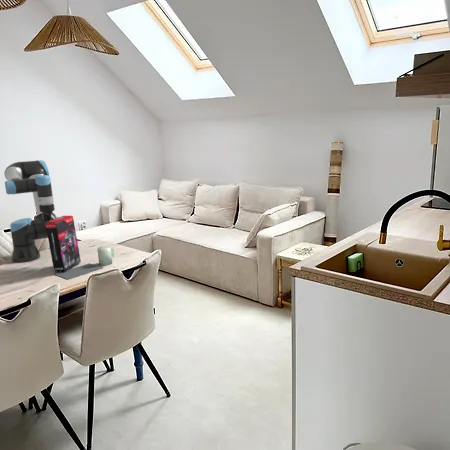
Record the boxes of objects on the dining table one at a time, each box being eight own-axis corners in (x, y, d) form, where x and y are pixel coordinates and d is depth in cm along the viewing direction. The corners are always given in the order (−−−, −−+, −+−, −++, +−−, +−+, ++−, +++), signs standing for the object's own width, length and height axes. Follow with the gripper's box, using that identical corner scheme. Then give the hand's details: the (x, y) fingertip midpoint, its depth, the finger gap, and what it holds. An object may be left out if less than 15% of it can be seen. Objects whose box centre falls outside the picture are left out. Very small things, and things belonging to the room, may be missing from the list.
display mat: (54, 274, 219) (54, 274, 219) (89, 263, 235) (89, 263, 235) (67, 279, 211) (67, 279, 211) (103, 267, 227) (103, 267, 227)
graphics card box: (64, 272, 220) (56, 221, 215) (52, 272, 222) (44, 222, 216) (81, 262, 237) (74, 215, 231) (70, 262, 238) (62, 215, 232)
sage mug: (96, 264, 233) (94, 248, 231) (110, 259, 240) (108, 244, 238) (104, 266, 229) (102, 250, 227) (118, 261, 236) (116, 246, 234)
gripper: (33, 204, 231) (40, 245, 236) (46, 206, 223) (52, 249, 228) (46, 201, 236) (52, 242, 242) (59, 203, 228) (64, 245, 234)
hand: (52, 245), depth 235 cm, fingers closed
